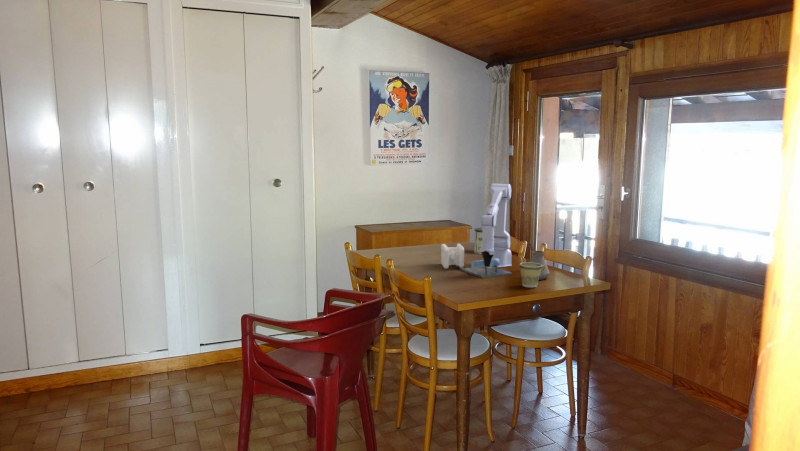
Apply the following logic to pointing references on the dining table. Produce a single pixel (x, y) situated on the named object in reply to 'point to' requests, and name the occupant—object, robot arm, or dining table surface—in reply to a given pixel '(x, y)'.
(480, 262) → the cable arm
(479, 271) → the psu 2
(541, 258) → the coffee pot
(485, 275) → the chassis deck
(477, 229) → the coffee can
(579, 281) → the dining table surface
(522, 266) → the ceramic cup
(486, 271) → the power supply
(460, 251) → the cable organizer
